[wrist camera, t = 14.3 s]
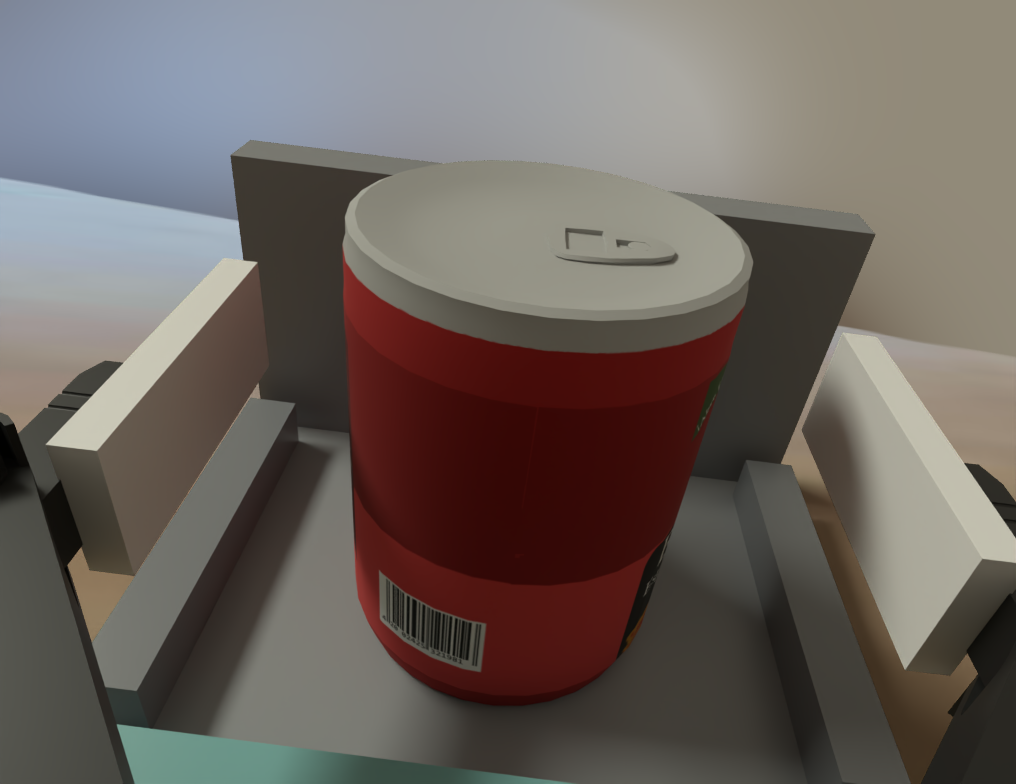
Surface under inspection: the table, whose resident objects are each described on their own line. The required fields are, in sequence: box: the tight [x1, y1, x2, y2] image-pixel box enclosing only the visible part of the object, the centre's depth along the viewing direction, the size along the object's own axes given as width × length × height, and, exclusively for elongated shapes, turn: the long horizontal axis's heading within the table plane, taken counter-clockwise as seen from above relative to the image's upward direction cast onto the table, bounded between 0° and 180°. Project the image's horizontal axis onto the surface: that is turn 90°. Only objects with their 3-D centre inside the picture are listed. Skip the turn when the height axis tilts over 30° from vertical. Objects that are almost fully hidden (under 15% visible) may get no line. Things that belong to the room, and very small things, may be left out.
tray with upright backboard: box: [92, 140, 911, 784], centre depth 18 cm, size 18×15×10 cm
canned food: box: [342, 160, 753, 706], centre depth 17 cm, size 8×8×11 cm
